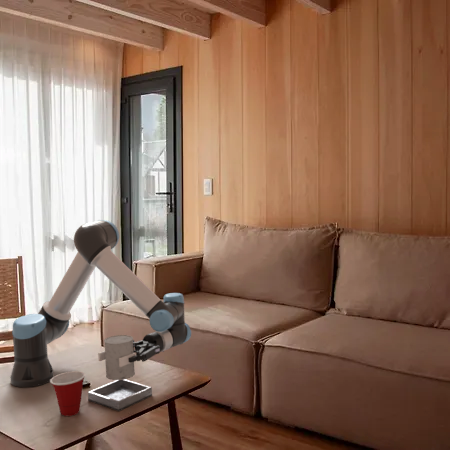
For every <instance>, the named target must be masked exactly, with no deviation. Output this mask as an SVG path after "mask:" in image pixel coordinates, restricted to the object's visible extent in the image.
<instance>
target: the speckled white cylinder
mask: <svg viewBox="0 0 450 450" xmlns="http://www.w3.org/2000/svg"><path fill="white" fill-rule="evenodd" d="M133 340H134V337H133V336H132V335H127V334H120V335H119V334H118V335H112V336H109V337H106V338H104V341H103V342H104V351H105V360H104V361H105V377H106V379H108V380H111V381H116V380H124V379H126V380H129V379H131V378H133V377H134V376H136V375H135V374H136V371H135V362H132V363H130V364H127V365H125V366H122V367H119V358H122V357H124V356H127V355H130V354H132V353H134V352H133Z"/></svg>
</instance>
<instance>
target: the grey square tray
mask: <svg viewBox="0 0 450 450" xmlns="http://www.w3.org/2000/svg"><path fill="white" fill-rule="evenodd" d="M152 396H153V388H152V386H148V385H146V384H142V383H138V382H136V381H132V380H129V379H124V380H112V381H111V382H108V383H107V384H103V385H102V386H99V387H96V388H94V389H92V390H89V391H87V399H88V401H89V402H92V403H95V404H97V405H100V406H103V407H106V408H109V409H111V410H114V411H117V412H120V411H123V410H124V409H125V410H126V409H127V408H129V407H131V406H134V405H135V404H138V403H139V402H142V401H145V400H146V399H148V398H150V397H152Z"/></svg>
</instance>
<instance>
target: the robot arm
mask: <svg viewBox="0 0 450 450" xmlns="http://www.w3.org/2000/svg"><path fill="white" fill-rule="evenodd" d="M119 240H120V233H119V229H118V227H117V226H116V224H114V223H113V222H112V221H110V220H105V219H98V220H95V221H91V222H87V223H84V224H82V225H80V226H79V227H78V228H77V229H76V230H75V232H74V236H73V243H74V247H75V249H76V251H77V253H76V255H75V256H74V257H73V260H72V261H71V263H70V265H69V267H68V269H67V270H66V272H65V274H64V275H63V277H62V279H61V281H60V282H59V285H58V286H57V287H56V289H55V291H54V293H53V295H52V297H51V298H50V300H49V301H45V302H44V303H43V304H42V307H41V308H40V309H39V311H38V313H29V314H26V315H22V316H19V317H18V318H16V319H15V320H14V322H13V323H12V330H11V332H12V333H11V335H12V341H13V342H12V343H13V345H12V346H13V356H14V358H13V359H14V362H13V366H12V370H11V374H10V376H9V377H10V378H9V379H10V384H11V385H12V386H14V387H18V388H32V387H38V386H41V385H46V384H47V383H50V380H51V379H52V378H53V377H54V376H55V375H54V373H55V372H54V369H53V367H52V364H51V362H50V359H49V356H48V345H50V343H52V342H53V341H55V340H57V339H59V338H61V337H62V336H64V335H65V333H66V332H67V330H68V329H69V326H70V320H71V319H72V318H71V317H72V314H71V310H72V309H73V306H74V305H75V303H76V301H77V300H78V298H79V296H80V295H81V293H82V291H83V289H85V286H86V284H87V282H88V281H89V279H90V277H91V275H92V274H93V272H94V270H95V268H97V269H98V270H99V271H100V272H101V273H102V274H103V275H104V276H105V277H106V278H107V279H108V280H109V281H110V282H111V283H112V284H113V285H114V286H115V287H116V288H117V289H118V290H119V291H120V292H121V293H123V294H124V296H126V298H128V300H130V301H131V303H133V304H134V305H135V306H136V307H137V309H139V310H140V311H141V312H142V313H143V314H144V315H145V316H146V317H147V318H148V319H149V322H148V323H149V325H150V328H152V330H154V331H152V332H149V333H147V334H146V335H144V336H143V338H142V340H138V341H135V340H134V339H133V352H134V353H132V354H130V355H127V356H124V357H122V358H119V367H122V366H125V365H127V364H130V363H132V362H134V363H135V362H140V361H141V362H147V361H148V360H149V359H151V358H152V357H154V356H156V355H159V354H160V353H161V352H162V353H164V352H165V351H167V350H169V349H171V348H173V347H177V346H180V345H183V344H184V343H186V342H188V341H189V340H190V339H191V337H192V329H191V327H190V325H189V324H188V323H187V322H185V321H186V320H185V318H186V317H185V298H184V294H183V293H180V292H170V293H166V294H164V296H163V300H162V299H160V298H159V296H158V295H156V293H155V292H154V291H152V289H150V288H149V287H148V285H147V284H145V283H144V282H143V281H142V280H141V279H140V278H139V277H138V276H137V274H135V272H134V271H132V269H130V268H129V267H128V266H127V265H126V264H125V263H124V262H123V261H122V260H121V259H120V258H119V257H118V256H117V255H116V254H115V253H114V252H113V251H112V249H115V247H116V246H117V244H118V243H119ZM97 353H98V354H97V355H98V356H97V357H98V361H99V362H102V361H105V350H103V351H100V352H97Z"/></svg>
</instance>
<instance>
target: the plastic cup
mask: <svg viewBox="0 0 450 450" xmlns="http://www.w3.org/2000/svg"><path fill="white" fill-rule="evenodd" d="M85 376H86V373H85V372H83V371H80V370H74V371H67V372H62V373H59V374H57V375H54V377H53V378H52V379H51V380H50V381H49V383H50V384H51V385H52V387H53V390H54V392H55V396H56V401H57V404H58V408H59V412H60V415H61V416H63V415H64V417H72V416H75V415H77V414H79V413H80V410H81V402H82V395H83V394H82V393H83V386H84V380H85Z"/></svg>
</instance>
